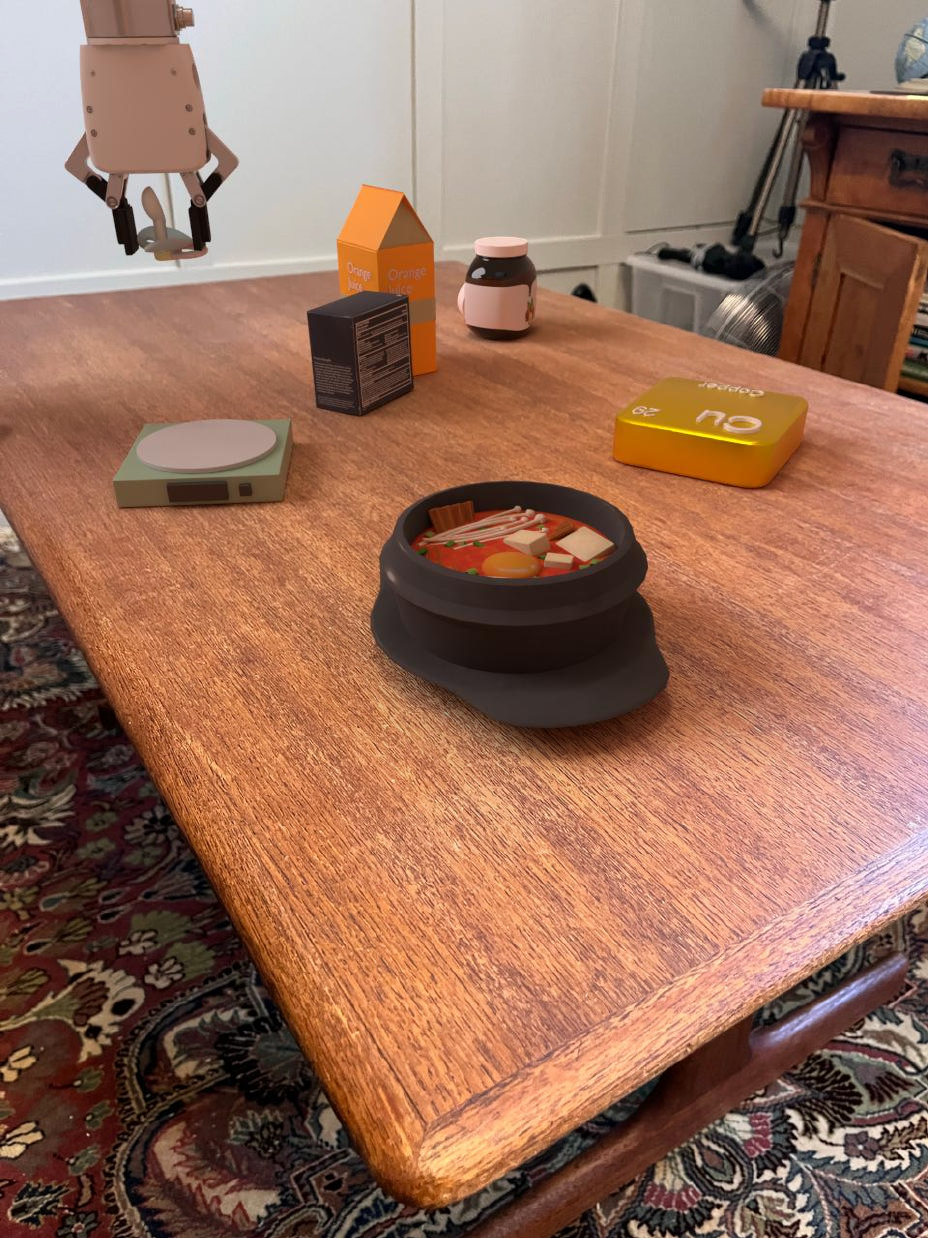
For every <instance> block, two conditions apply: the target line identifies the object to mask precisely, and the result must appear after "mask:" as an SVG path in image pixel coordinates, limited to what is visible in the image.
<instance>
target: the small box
mask: <svg viewBox="0 0 928 1238" xmlns="http://www.w3.org/2000/svg"><path fill="white" fill-rule="evenodd" d="M306 319H307V328H308V336H309V346H310V359H311V365H312V366H311V367H312V377H313V386H314V396H315V406H316V408H319V409H324V410H328V411H329V410H330V411H334V412H338V413H345V414H349V415H354V416H359V417H360V416H363V415H365V414H367V413H369V412H371V411H373V410H375V409H377V408H378V407H379V408H380V407H381V406H383V405H385V404H386V403H389V402H391V401H392V400H394V399H396V398H398V397H400V396H402V395H404V394H406V393H408V392H411V391H413V390H414V389H415V382H414V376H413V369H412V352H411V331H410V314H409V295H403V294H394V293H384V292H374V291H365V290H364V291H361V292H359V293H356V294H353V295H350V296H348V297H345V298H342V299H340V298H339V299H337V300H334V301H331V302H328V303H326V304H322V305H319V306H318V307H314V308H312V309H308V310H307V311H306Z"/></svg>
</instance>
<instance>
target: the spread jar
mask: <svg viewBox="0 0 928 1238" xmlns="http://www.w3.org/2000/svg"><path fill="white" fill-rule="evenodd" d="M528 253H529V241H528V239H526V238H523V237H518V236H505V235H504V236H501V235H499V236H497V235H496V236H487V237H480V238H478V239H476V240H474V254H475V256H474V258H473V259H472V260H471V262H470V264H469V266H468V268H467V271H466V273H465V279H464V284H463V285H462V287H461V288H460V290H459V293H458V295H457V308H458V310H459V312H460V313H461V314H462V315H463V316H464V319H465V324H466V326H467V328H468V330H469V331H470V332H472V333H473V334H474V335H476V336H477V337H479V338H482V339H485V340H494V341H509V340H516V339H519V338H522V337H525V335H527V334H528V333H529V331H531V328H532V326H533V323H534V321H535V318H536V317H535V316H536V313H537V312H536V311H537V293H538V291H537V287H538V280H537V279H538V277H537V269H536V267H535V266H536V265H535V264H534V262H533V261H532V259H531V258H530V257H529V255H528Z"/></svg>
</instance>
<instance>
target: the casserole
mask: <svg viewBox="0 0 928 1238" xmlns="http://www.w3.org/2000/svg"><path fill="white" fill-rule="evenodd" d="M642 546H643V545H642V544H641V543H640V542H639V541H638V540H637V537H636V534H635V530H634V526H633V525H632V523H631V522H630V520H629V518H628V516H627V515H625V514H624V512H622V510H620V509H619V508H618V507H617V506H615V505H614V504H612V503H610V502H609V501H608V500H606V499H603V498H601V497H599V496H597V495H595V494H592V493H589V492H587V491H583V490H580V489H577V488H574V487H570V486H565V485H561V484H555V483H550V482H540V481H533V480H493V481H490V480H489V481H482V482H481V481H480V482H474V483H466V484H462V485H457V486H452V487H447V488H445V489H443V490H439V491H435V492H433V493H430V494H428V495H426V496H424V497H422V498H420V499H418V500H416V501H414V502H413V503H412V504H411V505H409V506H408V507H406V508H405V509H404V510H403V512H401V514H400V515H399V516H398V517H397V520H396V522H395V525H394V528H393V530H392V534H391V535H390V537H389V538H388V539H387V540H386V541H385V542H384V544H383V545H382V548H381V551H380V553H379V556H378V563H379V590H378V593H377V595H376V598H375V601H374V604H373V607H372V610H371V612H370V615H369V617H370V618H369V619H370V620H369V621H370V631H371V634H372V636H373V638H374V641H375V643H376V645H377V647H378V648H379V649H380V650H381V651H382V652H383V654H385V656H386V657H387V658H388V660H390V661H392V662H393V663H394V664H396V665H397V666H398V667H400V669H402V670H404V671H406V672H407V673H409V674H411V675H414V676H416V677H418V678H419V679H422V680H424V681H426V682H428V683H431V684H433V685H435V686H437V687H440V688H441V689H444V690H446V691H447V692H450V693H452V694H454V695H456V696H457V697H458V698H460V699H461V700H463V701H464V702H466V704H468V705H470V706H471V707H472V708H474V709H475V710H477V711H479V712H480V713H481V714H483V715H485V716H487V717H488V718H490V719H491V720H493V721H496V722H500V723H503V724H507V725H510V726H514V727H517V728H531V729H533V728H534V729H554V728H555V729H557V728H568V727H569V728H570V727H579V726H583V725H588V724H594V723H598V722H604V721H608V720H610V719H613V718H616V717H619V716H622V715H624V714H625V715H626V714H628V713H630V712H633V711H635V710H637V709H639V708H641V707H642V706H644V705H646V704H648V703H650V702H651V701H653V700H655V698H657V697H658V696H659V695H660V694H661V693H662V692H663V691H665V689H666V688H667V687H668V684H669V680H670V677H671V672H670V670H669V667H668V665H667V662H666V659H665V657H664V655H663V653H662V651H661V649H660V647H659V645H658V644H657V638H656V637H657V636H656V628H655V620H654V619H655V618H654V613H653V611H652V609H651V607H650V605H649V603H648V601H647V599H646V598H645V597H644V596H643V595H642V594H641V592H640V591H638V590H639V588H640V587H641V585H642V584H643V582H645V580H646V576H647V573H648V570H649V563H648V555H647V553H646V551H645V549H644V548H643V547H642Z"/></svg>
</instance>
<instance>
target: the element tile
mask: <svg viewBox="0 0 928 1238" xmlns="http://www.w3.org/2000/svg"><path fill="white" fill-rule="evenodd" d="M808 411H809V402H808V400H806V399H805V397H803V396H799V395H795V394H794V395H793V394H787V393H781V392H774V391H769V390H763V389H755V388H749V387H743V386H741V385H739V386H735V385H731V384H723V383H717V382H711V381H705V380H698V379H691V378H686V377H680V376H668V377H665V378H663V379H661V380H658V381H657V382H656V383H655V384H654V385H652V386H651V387H650V388H648V389H647V390H646V391H644V392H643V393H641V394H640V395H639V396H637V397H636V398H635V399H633V400H632V401H630V402H629V403H628V404H626V406H624V407H622V408H621V409H620V410H618V411H617V412H616V413H615V416H614V429H613V440H612V441H613V442H612V458H614V459H615V460H616V461H618V462H619V463H622V464H625V465H629V466H634V467H639V468H642V469H643V468H644V469H649V470H654V471H659V472H664V473H668V474H674V475H678V476H683V477H688V478H693V479H699V480H703V481H708V482H714V483H719V484H722V485H726V486H727V485H728V486H733V487H737V488H744V489H745V488H746V489H758V488H763V487H765V486H767V485H769V484H770V483H771V482H772V480H774V478H775V477H776V476H777V474H778V473H779V472H780V471H781V469H782V468H783V467H784V466H785V465H786V463H787V462H788V461H789V460H790V458H791V457H792V456H793V455H794V453H795V452H796V451H797V449H799V447H800V446H801V444H802V442H803V437H804V432H805V426H806V422H807V416H808Z"/></svg>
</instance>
